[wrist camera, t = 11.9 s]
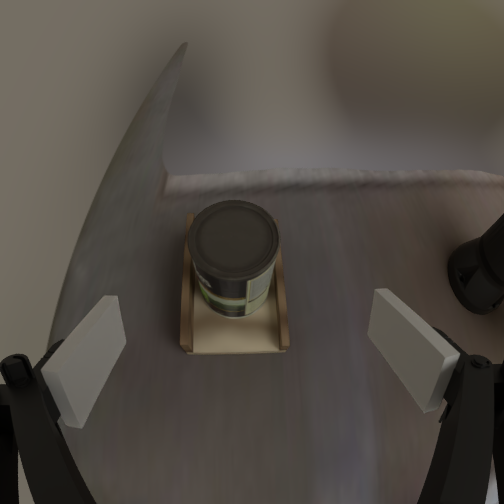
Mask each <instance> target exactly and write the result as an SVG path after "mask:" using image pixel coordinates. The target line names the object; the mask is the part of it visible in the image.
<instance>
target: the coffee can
mask: <svg viewBox="0 0 504 504" xmlns="http://www.w3.org/2000/svg"><path fill="white" fill-rule="evenodd" d="M187 243H188V249H189V253H190V255H191V257H192V260H193V263H194V267H195V271H196V274H197V278H198V281H199V285H200V289H201V294H202V298H203V300H204V302H205V304H206V305H207V306H208V307H209V309H210V310H212V311H213V312H214V313H216V314H217V315H219V316H221V317H224V318H229V319H241V318H245V317H248V316H250V315H252V314H254V313H256V312H257V311H258V310H259V309H260V308H261V307H262V306H263V304H264V303H265V301H266V299H267V296H268V292H269V286H270V282H271V277H272V273H273V269H274V265H275V260H276V257H277V255H278V252H279V248H280V243H281V237H280V231H279V228H278V225H277V223H276V222H275V220H274V219H273V217H272V216H271V215H270V214H269V213H268V212H267V211H265V210H264V209H263V208H261V207H259V206H257V205H255V204H253V203H250V202H246V201H240V200H228V201H223V202H219V203H216V204H213V205H211V206H209V207H207V208H206V209H204V210H203V211H202V212H200V213H199V214H198V216H197V217H196V218H195V219H194V221H193V222H192V224H191V226H190V228H189V231H188V237H187Z"/></svg>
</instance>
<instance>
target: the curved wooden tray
mask: <svg viewBox="0 0 504 504" xmlns="http://www.w3.org/2000/svg"><path fill="white" fill-rule="evenodd" d="M194 219H195V217H194V213H187V223H186V235H185V248H184V262H183V278H182V297H181V321H180V346H181V347H182V348H183V349H184V350H185V352H186V353H187V354H194V355H218V354H258V353H278V352H286V350H287V349H288V347H289V346H290V341H289V329H288V318H287V307H286V296H285V285H284V275H283V265H282V255H281V246H280V248H279V252H278V255H277V257H276V260H275V265H274V269H273V273H272V277H271V282H270V286H269V292H268V296H267V299H266V301H265V303H264V304H263V306H262V307H261V308H260V309H259V310H258V311H257V312H256V313H254V314H252V315H250V316H248V317H245V318H241V319H229V318H224V317H221V316H219V315H217V314H216V313H214V312H213V311H212V310H210V309H209V307H208V306H207V305H206V304H205V302H204V300H203V298H202V294H201V289H200V285H199V281H198V278H197V274H196V271H195V267H194V263H193V260H192V257H191V255H190V253H189V249H188V243H187V237H188V231H189V228H190V226H191V224H192V222H193V221H194ZM274 220H275V222H276V223H277V225H278V219H274ZM278 228H279V227H278Z"/></svg>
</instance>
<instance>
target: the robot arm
mask: <svg viewBox="0 0 504 504" xmlns="http://www.w3.org/2000/svg"><path fill="white" fill-rule="evenodd" d="M448 274H449V280H450V283H451V286H452V289H453V291H454V293H455V295H456V296H457V298H458V299H459V301H460V302H461V303H462V304H463V305H464V306H465V307H466V308H467V309H468V310H470V311H471V312H473V313H476V314H480V315H483V314H487V313H489V312H491V311H493V310H494V309H496V308H497V307H498V306H499V305H500V304H501V302H502V301H503V300H504V214H503V215H502V216H501V217H500V218H499V219H498V220H497V221H496V222H495V223H494V224H493V225H492V226H491V227H490V228H489V229H488V230H487V231H486V232H485V233H484V234H483V235H482V236H481V237H479V238H476V239H474V240H471V241H469V242H466V243H463V244H462V245H460V246H459V247H458V248H457V249H456V250H455V251H454V252H453V253H452V255H451V257H450V259H449V264H448ZM367 335H368V337H369V338H370V339H371V341H372V342H373V343H374V345H375V346H376V347H377V349H378V350H379V351H380V353H381V354H382V356H383V357H384V358H385V360H386V361H387V362H388V364H389V365H390V366H391V368H392V369H393V371H394V372H395V373H396V375H397V376H398V377H399V379H400V380H401V382H402V383H403V384H404V386H405V387H406V389H407V390H408V391H409V393H410V394H411V396H412V397H413V399H414V400H415V401H416V403H417V404H418V406H419V407H420V408H421V410H422V411H423V413H426V412H430V411H433V410H436V409H438V408H439V406H440V404H441V402H442V399H443V398H444V399H445V400H446V401H447V406H446V408H445V410H444V412H443V414H442V416H441V418H440V420H439V423H441V422H442V424H441V428H440V432H439V436H438V440H437V444H436V448H435V451H434V455H433V458H432V462H431V465H430V468H429V471H428V474H427V478H426V480H425V483H424V486H423V489H422V492H421V495H420V497H419V500H418V502H417V504H485V500H486V495H487V489H488V483H489V476H490V469H491V460H492V454H493V459H494V466H495V473H496V480H497V489H498V500H499V504H504V360H503V363H502V364H492V363H491V361H490V360H489V359H487V358H485V357H484V356H480V355H468V354H467V353H466V352H464V351H463V350H462V349H461V348H460V347H459V346H458V345H457V344H456V343H455V342H454V343H453V341H452V340H451V339H450V338H448V336H447V335H446V334H445V333H444V332H442V331H441V330H439V329H437V328H435V327H431V326H430V325H428V324H427V323H426V322H425V321H424V320H423V319H422V318H421V317H420V316H418V315H417V314H416V313H415V312H414V311H413V310H412V309H410V308H409V307H408V306H407V305H406V304H405V303H404V302H402V301H401V300H400V299H399V298H398V297H397V296H395V295H394V294H393V293H392V292H391V291H390V290H388V289H387V288H385V289H375V290H374V297H373V304H372V310H371V316H370V322H369V328H368V333H367ZM125 344H126V338H125V333H124V328H123V323H122V318H121V313H120V307H119V302H118V296H103V297H102V299H101V300H100V301H99V302H98V303H97V304H96V305H95V306H94V307H93V308H92V310H91V311H90V312H89V313H88V314H87V315H86V316H85V317H84V319H83V320H82V321H81V322H80V323H79V324H78V325H77V327H76V328H75V329H74V330H73V331H72V332H71V334H70V335H69V336H68V337H67V338H66V339H65V340H63V339H62V340H60V341H58V342H57V343H55V344H54V345H53V346H52V347H51V348H50V349H49V350H48V353H46V354H45V355H44V357H43V358H41V360H40V361H39V362H38V363H37V364H36V366H35V367H34V368H33V369H32V366H31V364H30V362H29V359H28V357H27V356H26V355H24V354H14V355H10V356H8V357H6V358H5V359H3V360H2V361H1V363H0V372H1V374H2V376H3V378H4V380H5V383H6V384H0V504H19V494H18V450H19V454H20V458H21V462H22V465H23V469H24V473H25V476H26V479H27V482H28V485H29V488H30V492H31V494H32V497H33V500H34V503H35V504H96V502H95V500H94V498H93V497H92V495H91V493H90V491H89V489H88V488H87V486H86V484H85V482H84V480H83V478H82V476H81V474H80V472H79V470H78V468H77V466H76V464H75V462H74V459H73V457H72V455H71V453H70V451H69V448H68V446H67V444H66V441H65V439H64V436H63V434H62V432H61V429H60V427H59V425H58V423H57V421H58V419H59V417H60V415H61V417H62V419H63V421H64V423H65V425H66V426H70V427H74V428H79V429H82V428H83V426H84V424H85V422H86V420H87V418H88V416H89V414H90V412H91V410H92V408H93V406H94V404H95V402H96V400H97V398H98V396H99V394H100V392H101V390H102V388H103V386H104V384H105V382H106V380H107V378H108V376H109V374H110V372H111V370H112V368H113V367H114V365H115V363H116V361H117V359H118V357H119V355H120V353H121V352H122V350H123V348H124V346H125Z"/></svg>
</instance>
